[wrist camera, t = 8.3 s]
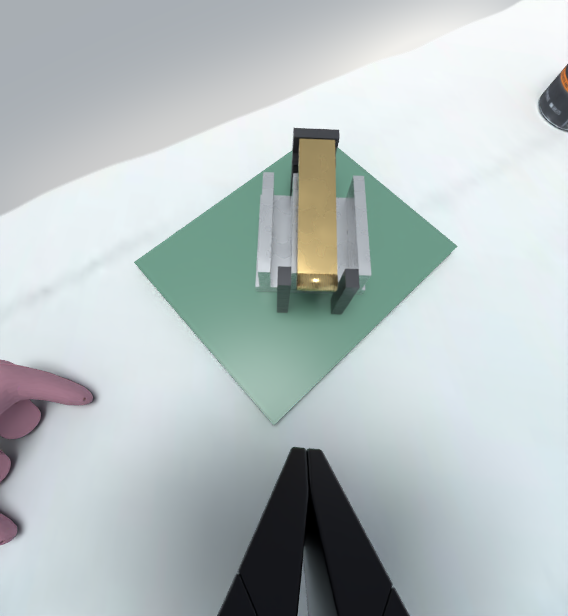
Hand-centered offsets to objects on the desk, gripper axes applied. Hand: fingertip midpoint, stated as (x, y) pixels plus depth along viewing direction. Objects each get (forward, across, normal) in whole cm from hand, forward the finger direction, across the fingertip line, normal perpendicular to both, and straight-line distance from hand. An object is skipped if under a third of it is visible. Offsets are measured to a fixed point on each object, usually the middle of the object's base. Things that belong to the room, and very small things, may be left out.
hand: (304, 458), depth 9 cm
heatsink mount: (+19, -1, -1) cm, 19 cm away
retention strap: (+15, -1, -4) cm, 16 cm away
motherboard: (+19, 0, 0) cm, 19 cm away
